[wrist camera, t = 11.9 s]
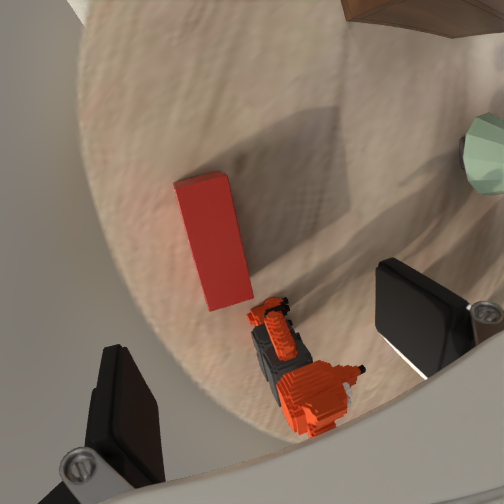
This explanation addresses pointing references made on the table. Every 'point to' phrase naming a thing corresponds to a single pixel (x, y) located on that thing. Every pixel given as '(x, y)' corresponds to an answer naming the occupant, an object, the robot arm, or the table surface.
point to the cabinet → (431, 15)
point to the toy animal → (299, 372)
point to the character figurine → (484, 154)
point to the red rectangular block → (214, 239)
